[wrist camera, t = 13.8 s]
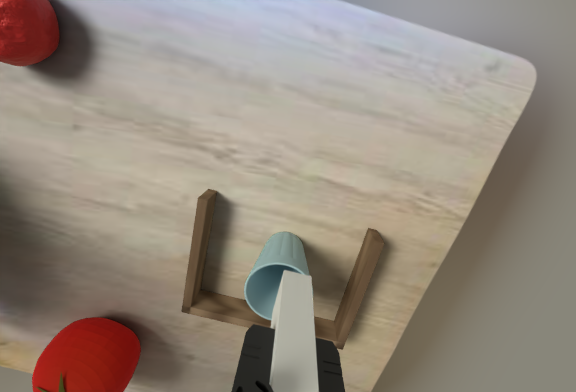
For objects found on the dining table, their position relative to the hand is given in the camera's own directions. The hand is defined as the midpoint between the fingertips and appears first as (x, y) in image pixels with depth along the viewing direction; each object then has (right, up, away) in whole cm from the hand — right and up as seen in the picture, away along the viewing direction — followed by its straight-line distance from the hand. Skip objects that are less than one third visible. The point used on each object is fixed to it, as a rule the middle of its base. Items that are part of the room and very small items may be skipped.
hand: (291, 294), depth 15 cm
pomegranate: (-31, +26, +18) cm, 44 cm away
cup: (-1, -2, +26) cm, 26 cm away
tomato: (-30, -19, +32) cm, 48 cm away
